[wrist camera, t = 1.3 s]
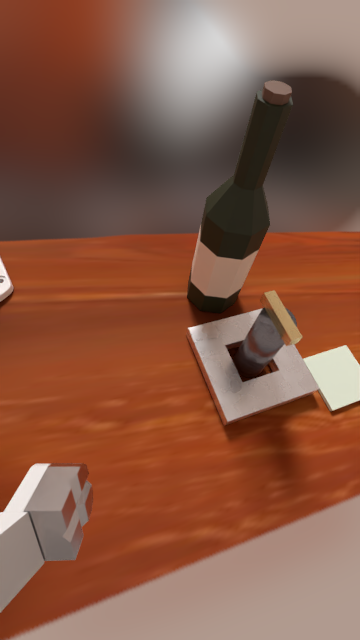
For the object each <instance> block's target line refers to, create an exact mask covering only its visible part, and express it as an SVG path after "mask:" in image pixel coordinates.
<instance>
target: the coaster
mask: <svg viewBox="0 0 360 640" xmlns="http://www.w3.org/2000/svg"><path fill="white" fill-rule="evenodd" d="M303 361H304V363H305V364H306V366H307V368H308V370H309V371H310V373H311V375H312V376H313V378H314V380H315V382H316V383H317V385H318V387H319V388H320V389H319V390H318V391H319V393H320V394H321V396H322V398H323V400H324V401H325V403H326V405H327V407H328V408H329V410H330V412H331V411H334V410H336V409H339V408H341V407H344V406H347V405H349V404H352V403H354V402H357V401H360V365H359V364H358V362H357V361H356V359H355V358H354V356H353V355H352V353H351V352H350V350H349V349H348V347H347V346H346V345H345V346H342V347H338V348H335V349H332V350H329V351H326V352H323V353H320V354H317V355H314V356H310V357H307V358H304V359H303Z"/></svg>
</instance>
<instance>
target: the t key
mask: <svg viewBox="0 0 360 640" xmlns="http://www.w3.org/2000/svg"><path fill="white" fill-rule="evenodd" d="M260 301H261V303H262V304H263V306H264V308H263V309H262V310H261V312H260V313H259V315H258V317H257V319H256V320H255V322H254V324H253V325H252V327H251V329H250V330H249V332H248V334H247V335H246V337H245V339H244V341H243V342H242V344H241V346H240V347H239V349H238V351H237V352H236V354H235V356H234V358H233V363H234V365H235V367H236V369H237V372H238V373H239V374H240V375H242V376H244V377H247V378H253V377H256V376H258V375H259V374H260V373H261V372H262V371H263V369H264V368H265V367H266V366H267V365H268V363H269V362H270V361H271V360H272V359H273V357H274V356H275V355H276V354H277V353H278V351H279V350H280V349H281V348H282V347H283V345H284V344H285V345H286V346H289V345H293V344H296V343H298V342H299V341H300V339H301V338H302V335H301V334H300V332H299V330H298V329H297V322H296V319H295V317H294V315H293V314H292V313H291V312H290V311H289V310H288V309H286V308H285V307H284V306H283V304H282V302H281V301H280V299H279V297H278V296H277V294H276V292H275V291H270V292H266V293H264V294H263V295H262V297H261V299H260Z"/></svg>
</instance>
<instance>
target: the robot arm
mask: <svg viewBox="0 0 360 640" xmlns="http://www.w3.org/2000/svg"><path fill="white" fill-rule="evenodd" d="M0 282H3V283H0V302H1V301H2V300H3V299H5V298H6V297H7V296H9V295H10V294H11V293H12V291H13V285H12V282H11V280H10V278H9V276H8V273H7V271H6V269H5V266H4V264H3V262H2V259H1V257H0ZM88 474H89V472H88V469H87V465H86V464H72V463H52V464H35V465H33V466H32V467H31V468H30V469H29V471H28V473H27V474H26V476H25V478H24V479H23V481H22V483H21V484H20V486H19V487H18V489H17V491H16V492H15V494H14V496H13V497H12V499H11V500H10V502H9V504H8V505H7V507H6V509H5V510H4V512H0V613H1V611H2V610H3V609H4V608H5V607H6V606H7V605H8V604H9V602H10V601H11V600H12V599H13V598H14V597H15V596H16V595H17V593H18V592H19V591H20V590H21V589H22V588H23V587H24V585H25V584H26V583H27V582H28V581H29V580H30V579H31V578H32V576H33V575H34V574H35V573H36V572H37V571H38V570H39V569H40V567H41V566H42V565H43V564H44V561H54V560H75V559H76V556H77V553H78V550H79V547H80V544H81V541H82V538H83V532H82V526H83V525H84V524H85V523H86V522H87V521H88V520H89V517H90V514H91V511H92V504H93V490H92V485H91V484H90V483H89V482H88V481H87V477H88Z"/></svg>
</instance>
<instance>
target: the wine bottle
mask: <svg viewBox="0 0 360 640" xmlns="http://www.w3.org/2000/svg"><path fill="white" fill-rule="evenodd" d="M291 93H292V91H291V87H290V86H288V85H286V84H285V83H283V82H279V81H273V80H271V81H269V82H265V84H264V87H263V90H260V91H258V92H257V94H256V97H255V101H254V104H253V108H252V111H251V115H250V118H249V122H248V126H247V129H246V133H245V136H244V140H243V143H242V147H241V151H240V154H239V158H238V161H237V165H236V169H235V172H234V175H233V176H232V177H231V178H230V179H228V180H227V181H226V182H225V183H224V184H222V185H221V186H220V187H219V188H218V189H216V190H215V191H214V192H213V193H212V194H211V195H209V196H208V197H207V199H206V204H205V208H204V213H203V218H202V222H201V227H200V231H199V236H198V240H197V245H196V249H195V254H194V259H193V263H192V268H191V272H190V277H189V282H188V294H187V298H188V299H189V300H190V301H191V302H192V303H193V304H194V305H195V306H196V307H197V308H198V309H199V310H200V311H205V312H213V313H222V312H223V311H225V310H226V309H227V308H229V307H230V306H232V305H233V304H234V303H235V301H236V299H237V297H238V294H239V292H240V290H241V288H242V286H243V283H244V281H245V279H246V277H247V274H248V272H249V270H250V268H251V266H252V263H253V261H254V259H255V257H256V254H257V252H258V250H259V248H260V246H261V243H262V241H263V239H264V237H265V234H266V232H267V230H268V228H269V225H270V221H269V211H268V205H267V200H266V196H265V192H264V188H263V183H264V180H265V177H266V175H267V172H268V169H269V167H270V164H271V161H272V159H273V156H274V153H275V151H276V148H277V145H278V143H279V140H280V138H281V135H282V132H283V130H284V127H285V124H286V122H287V119H288V116H289V114H290V111H291V108H292V106H293V103H292V98H291V97H290V96H291Z"/></svg>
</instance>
